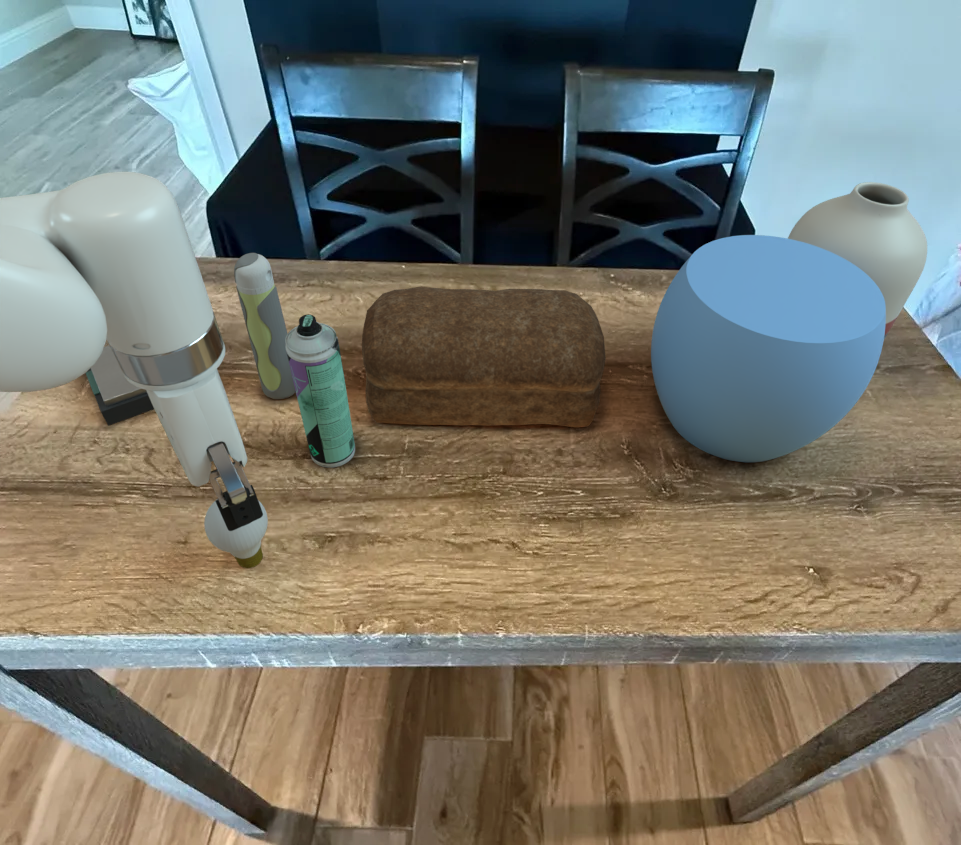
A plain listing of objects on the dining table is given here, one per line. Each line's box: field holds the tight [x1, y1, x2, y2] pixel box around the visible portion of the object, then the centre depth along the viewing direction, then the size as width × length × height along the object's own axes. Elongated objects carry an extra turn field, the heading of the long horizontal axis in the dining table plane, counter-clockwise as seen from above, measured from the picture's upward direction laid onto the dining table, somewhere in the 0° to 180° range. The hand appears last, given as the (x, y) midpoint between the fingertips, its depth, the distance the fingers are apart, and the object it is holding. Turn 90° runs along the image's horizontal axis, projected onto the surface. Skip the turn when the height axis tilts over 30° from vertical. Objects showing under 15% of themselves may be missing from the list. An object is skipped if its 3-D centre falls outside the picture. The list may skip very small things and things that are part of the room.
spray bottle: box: [233, 252, 296, 400], centre depth 84 cm, size 5×5×20 cm
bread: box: [361, 285, 606, 428], centre depth 87 cm, size 17×30×13 cm, turn 90°
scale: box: [85, 345, 155, 427], centre depth 90 cm, size 14×12×4 cm
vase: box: [787, 181, 928, 340], centre depth 92 cm, size 17×17×24 cm
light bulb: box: [203, 498, 269, 569], centre depth 68 cm, size 6×6×10 cm
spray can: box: [285, 314, 356, 469], centre depth 76 cm, size 6×6×20 cm
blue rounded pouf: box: [650, 234, 886, 463], centre depth 82 cm, size 25×25×20 cm
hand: (227, 486), depth 63 cm, fingers open, 9 cm apart
